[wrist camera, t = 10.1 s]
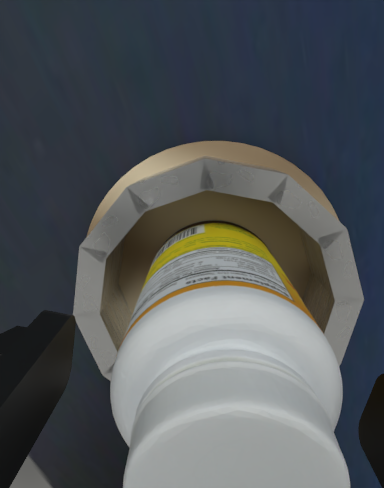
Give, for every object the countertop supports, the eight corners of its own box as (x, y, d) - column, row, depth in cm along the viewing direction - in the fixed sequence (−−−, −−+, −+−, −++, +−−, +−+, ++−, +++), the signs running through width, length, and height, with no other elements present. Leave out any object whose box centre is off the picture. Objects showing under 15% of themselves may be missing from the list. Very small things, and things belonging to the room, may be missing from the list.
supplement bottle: (253, 340, 17) (330, 631, 7) (140, 314, 16) (52, 577, 7) (291, 232, 15) (463, 409, 5) (167, 201, 15) (101, 325, 5)
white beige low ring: (113, 137, 14) (89, 136, 11) (362, 185, 14) (401, 196, 11) (88, 354, 17) (65, 397, 14) (295, 392, 17) (312, 442, 14)
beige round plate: (104, 117, 15) (97, 115, 14) (374, 169, 15) (385, 170, 14) (79, 352, 18) (72, 364, 17) (300, 393, 18) (305, 406, 18)
